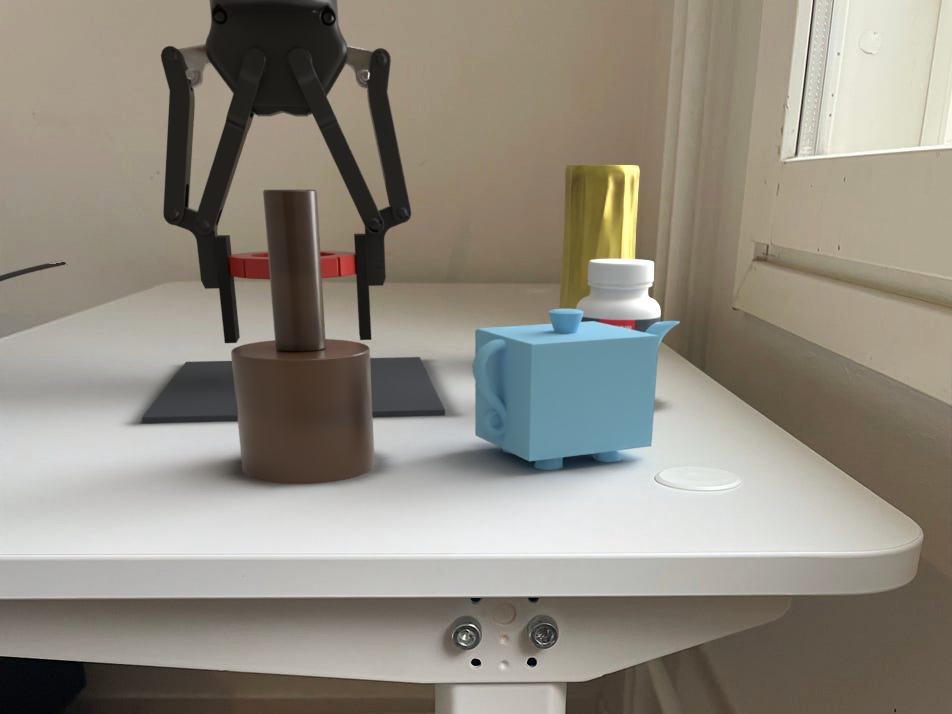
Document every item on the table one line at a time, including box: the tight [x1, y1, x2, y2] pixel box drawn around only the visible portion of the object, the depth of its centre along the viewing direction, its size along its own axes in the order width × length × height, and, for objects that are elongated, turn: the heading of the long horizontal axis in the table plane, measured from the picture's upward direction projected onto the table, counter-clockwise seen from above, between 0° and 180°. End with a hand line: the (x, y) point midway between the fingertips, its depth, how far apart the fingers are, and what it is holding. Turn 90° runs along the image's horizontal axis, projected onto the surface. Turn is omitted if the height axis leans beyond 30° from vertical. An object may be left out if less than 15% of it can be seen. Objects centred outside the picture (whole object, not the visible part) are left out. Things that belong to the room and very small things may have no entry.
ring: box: [228, 250, 357, 280], centre depth 67 cm, size 8×8×1 cm
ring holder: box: [230, 188, 376, 485], centre depth 49 cm, size 7×7×13 cm
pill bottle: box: [576, 258, 661, 333], centre depth 64 cm, size 5×5×9 cm
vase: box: [558, 164, 641, 309], centre depth 75 cm, size 6×6×14 cm
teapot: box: [472, 308, 681, 471], centre depth 53 cm, size 12×6×8 cm, turn 116°
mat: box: [141, 356, 446, 425], centre depth 70 cm, size 20×18×1 cm
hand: (299, 338), depth 69 cm, fingers closed on ring, 8 cm apart
